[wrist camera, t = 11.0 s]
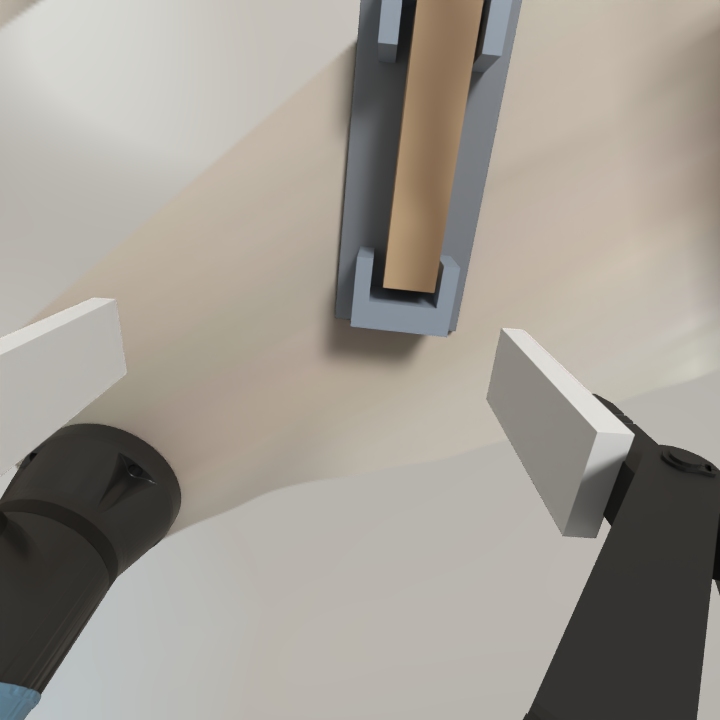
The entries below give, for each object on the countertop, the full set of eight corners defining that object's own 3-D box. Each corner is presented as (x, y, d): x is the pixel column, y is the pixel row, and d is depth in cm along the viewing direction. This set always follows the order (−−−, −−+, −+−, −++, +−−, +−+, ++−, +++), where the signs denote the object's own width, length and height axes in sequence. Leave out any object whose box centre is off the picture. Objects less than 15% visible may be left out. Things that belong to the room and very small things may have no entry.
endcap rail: (335, 315, 36) (328, 337, 32) (365, -55, 27) (362, -103, 22) (454, 328, 36) (464, 352, 32) (527, -38, 27) (558, -82, 22)
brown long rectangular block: (383, 271, 34) (383, 287, 29) (412, 23, 28) (418, -7, 23) (427, 276, 34) (434, 293, 29) (466, 28, 28) (483, 0, 23)
